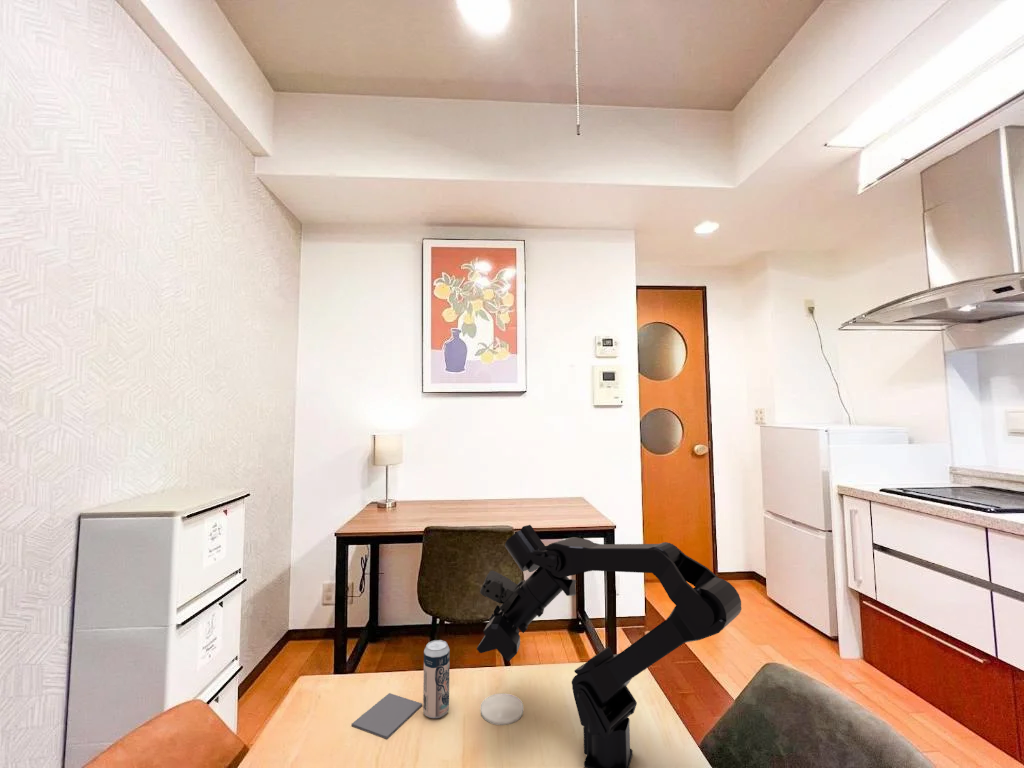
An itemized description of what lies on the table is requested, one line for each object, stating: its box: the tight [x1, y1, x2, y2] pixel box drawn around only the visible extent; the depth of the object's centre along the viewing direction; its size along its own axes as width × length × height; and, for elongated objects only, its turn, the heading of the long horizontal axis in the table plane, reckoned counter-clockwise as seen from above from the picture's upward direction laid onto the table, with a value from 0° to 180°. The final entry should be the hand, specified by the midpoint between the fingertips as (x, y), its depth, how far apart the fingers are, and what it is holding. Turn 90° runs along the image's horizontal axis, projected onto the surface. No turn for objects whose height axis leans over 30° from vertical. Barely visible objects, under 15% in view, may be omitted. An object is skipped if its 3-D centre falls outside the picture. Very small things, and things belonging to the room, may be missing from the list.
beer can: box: [422, 639, 451, 719], centre depth 84 cm, size 5×5×12 cm
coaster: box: [480, 692, 524, 726], centre depth 84 cm, size 8×8×1 cm
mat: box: [351, 692, 423, 740], centre depth 82 cm, size 8×10×1 cm
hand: (478, 650), depth 83 cm, fingers closed
